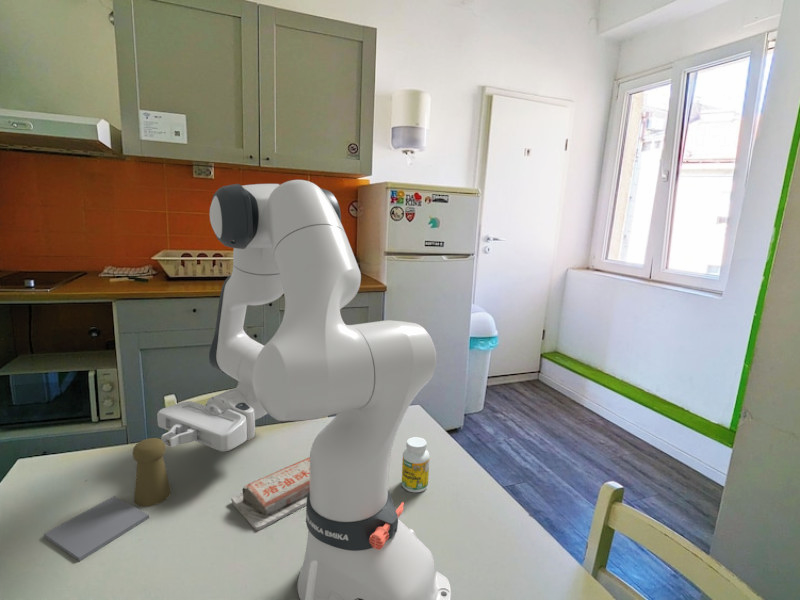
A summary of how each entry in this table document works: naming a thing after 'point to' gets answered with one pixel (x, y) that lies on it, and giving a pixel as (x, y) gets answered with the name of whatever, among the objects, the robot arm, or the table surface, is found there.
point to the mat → (96, 527)
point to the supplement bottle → (415, 465)
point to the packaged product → (275, 495)
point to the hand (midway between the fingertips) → (166, 441)
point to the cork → (150, 473)
